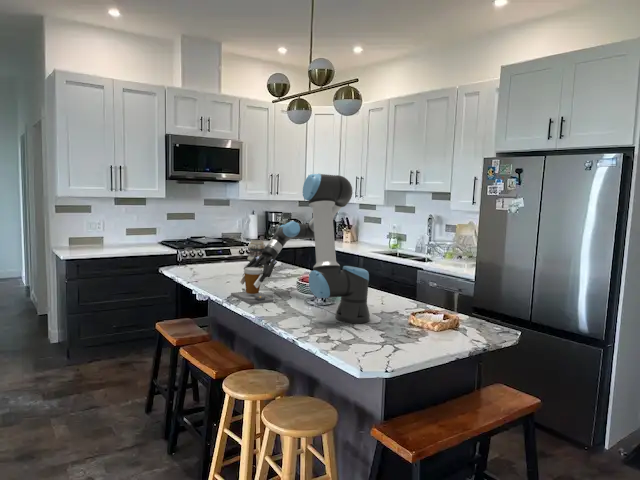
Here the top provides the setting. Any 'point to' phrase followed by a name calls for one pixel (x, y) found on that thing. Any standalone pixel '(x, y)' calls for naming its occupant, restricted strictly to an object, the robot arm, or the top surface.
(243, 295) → the mug warmer
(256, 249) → the grey stone vase
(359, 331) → the top surface
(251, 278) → the disposable coffee cup
